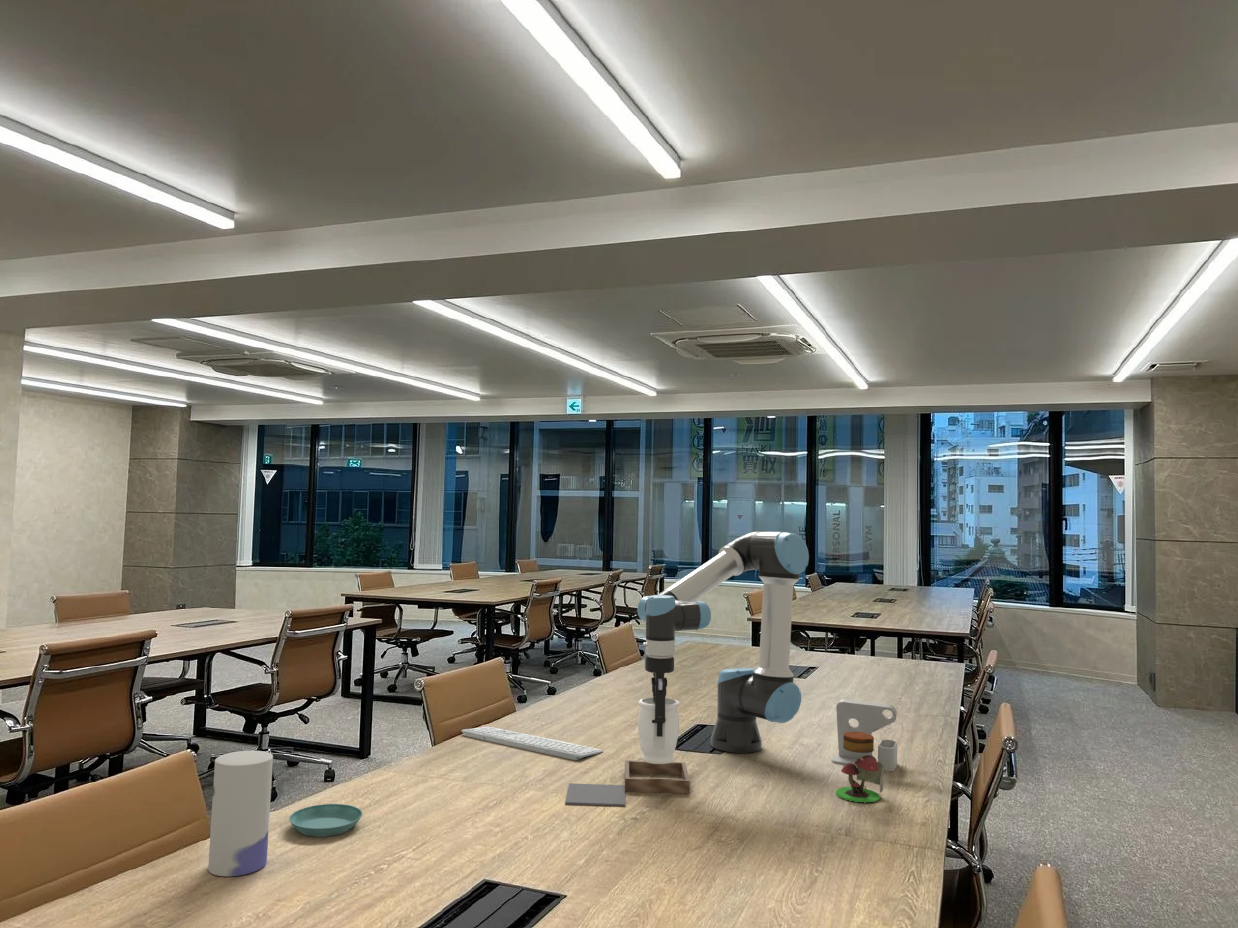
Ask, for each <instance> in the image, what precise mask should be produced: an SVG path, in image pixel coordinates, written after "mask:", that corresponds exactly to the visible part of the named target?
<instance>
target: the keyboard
mask: <svg viewBox="0 0 1238 928" xmlns="http://www.w3.org/2000/svg"><path fill="white" fill-rule="evenodd" d="M461 732H462V734H463V736H465V737H469V738H474V739H478V740H480V741H481V740H483V741H485V742H492V743H495V744H500V745H504V746H509V747H513V748H518V749H523V750H527V751H530V752H536V753H541V754H545V755H550V756H553V757H559V758H563V759H569V760H572V761H579V760H582V759H583V758H585V757H591V756H595V755H599V754H601V753H604V750H603V749H599V748H594V747H590V746H586V745H581V744H576V743H572V742H567V741H562V740H557V739H554V738H553V739H552V738H547V737H543V736H537V735H531V734H527V733H523V732H518V731H512V730H508V729H503V728H499V727H492V726H482V727H474V728H465V729H461Z"/></svg>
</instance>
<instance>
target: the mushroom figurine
mask: <svg viewBox="0 0 1238 928" xmlns="http://www.w3.org/2000/svg"><path fill="white" fill-rule="evenodd" d="M874 739H875V737H874V736H873V734H872V735H870V734H867V733H862V732H846V733H844V736H843V748H844V749H846V750H848V751H851V752H857V753H870V752H872V753H874V749H875V746H874V745H875V741H874ZM876 758H877V757H875V756H871V755H866V756H863V757H861V758H857V761H855V764H856V765H857V767H856V766H855V765H854V764H852V763H848V764H846V765H844V766H843V767H841V768H842V769H841V770H840V772H841V773H843V774H845V775H848V783H849V785H850V786H846V787H845V786H844V787H839V788H837V789H836V790H835V795H836V796H837V797H838V796H839V797H838V798H839V799H842V798H843V799H842V800H844V799H845V801H847V800H849V801H848V802H851V801H854V802H853V803H857V802H864V803H863V804H867V803H866V802H874V803H877V802H879V801H880V800H881V795H880V794H881V793H882V792H883V791H884V772H885V771H884V770H883V765H882V764H881V763H879V762H877V760H876ZM854 776H856V780H854ZM857 780H858V781H861V782H860V783H859V782H857ZM865 782H868V783H872V784H875V785H878V786H879V793H878V792H876V791H874V790H872V789H869V788H868V789H867V787H866V786H865ZM879 799H880V800H879ZM878 800H879V801H878ZM876 801H877V802H876Z"/></svg>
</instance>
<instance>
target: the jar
mask: <svg viewBox="0 0 1238 928" xmlns="http://www.w3.org/2000/svg"><path fill="white" fill-rule="evenodd" d="M638 706H639V707H640V709H639V712H638V717H637V732H638V736H639V738H638V739H639V745H640V748H641V751H642V755H641V758H640V759H641V761H645V762H647V763H652V764H667V763H671V762H675V756H674V753H675V750H676V747H677V743H678V737H679V732H680V731H679V730H680V717H679V711H678V708H679V707H680V701H679V699H678V700H677V699H674V698H669V697H665V719H666V721H665V748H664V749H654V723H652V720H655V703H654V697H653V696H652V697H650V696H649V697H643V698H641V699H638Z"/></svg>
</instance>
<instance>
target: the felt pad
mask: <svg viewBox="0 0 1238 928" xmlns="http://www.w3.org/2000/svg"><path fill="white" fill-rule="evenodd" d="M625 793H626V791H625V784H624V785H623V784H601V783H600V784H599V783H597V784H596V783H594V784H593V783H568V787H567V793H566V796H565V801H564V802H565V803H564V805H576V806H581V805H582V806H599V807H600V806H602V807H603V806H604V807H626V794H625Z"/></svg>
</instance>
